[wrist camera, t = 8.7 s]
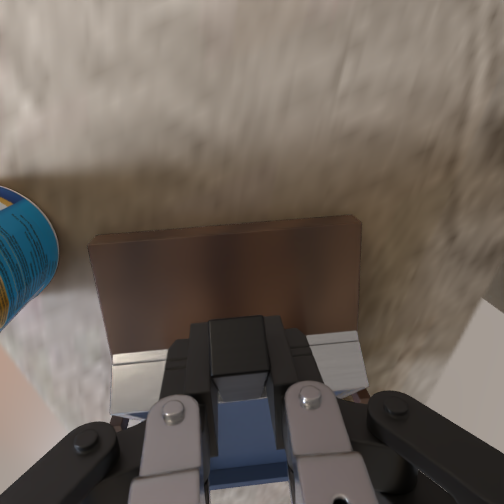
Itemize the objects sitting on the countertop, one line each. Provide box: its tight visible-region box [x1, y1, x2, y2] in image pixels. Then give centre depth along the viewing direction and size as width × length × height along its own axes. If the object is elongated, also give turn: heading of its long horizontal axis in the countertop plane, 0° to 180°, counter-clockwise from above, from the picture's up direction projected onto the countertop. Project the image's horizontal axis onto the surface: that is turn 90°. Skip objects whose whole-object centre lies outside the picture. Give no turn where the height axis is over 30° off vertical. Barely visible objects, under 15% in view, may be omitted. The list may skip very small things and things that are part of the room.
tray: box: [142, 399, 288, 490], centre depth 32 cm, size 15×12×2 cm
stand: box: [87, 215, 371, 432], centre depth 27 cm, size 17×13×5 cm
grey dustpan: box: [110, 315, 369, 421], centre depth 19 cm, size 11×18×2 cm
